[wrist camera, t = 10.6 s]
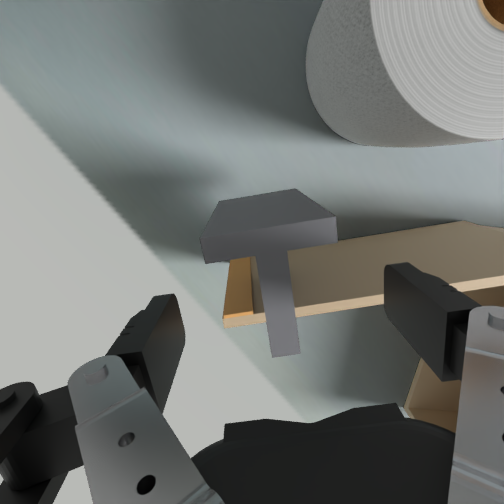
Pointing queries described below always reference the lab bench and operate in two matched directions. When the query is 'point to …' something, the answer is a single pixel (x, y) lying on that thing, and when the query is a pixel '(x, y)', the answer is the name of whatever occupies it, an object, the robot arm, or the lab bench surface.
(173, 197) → the lab bench surface
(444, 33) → the toilet paper roll
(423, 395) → the carton
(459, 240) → the carton flap
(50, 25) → the lab bench surface
